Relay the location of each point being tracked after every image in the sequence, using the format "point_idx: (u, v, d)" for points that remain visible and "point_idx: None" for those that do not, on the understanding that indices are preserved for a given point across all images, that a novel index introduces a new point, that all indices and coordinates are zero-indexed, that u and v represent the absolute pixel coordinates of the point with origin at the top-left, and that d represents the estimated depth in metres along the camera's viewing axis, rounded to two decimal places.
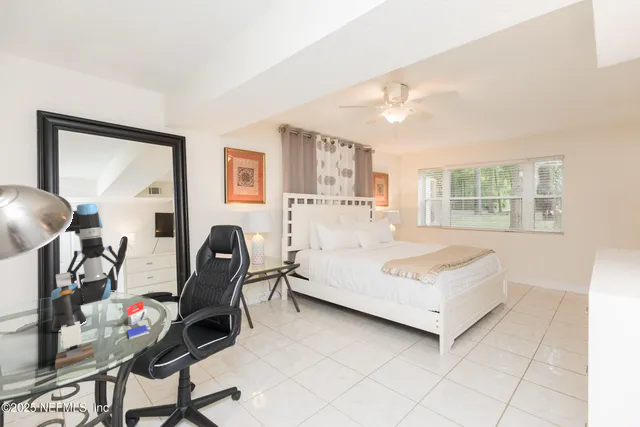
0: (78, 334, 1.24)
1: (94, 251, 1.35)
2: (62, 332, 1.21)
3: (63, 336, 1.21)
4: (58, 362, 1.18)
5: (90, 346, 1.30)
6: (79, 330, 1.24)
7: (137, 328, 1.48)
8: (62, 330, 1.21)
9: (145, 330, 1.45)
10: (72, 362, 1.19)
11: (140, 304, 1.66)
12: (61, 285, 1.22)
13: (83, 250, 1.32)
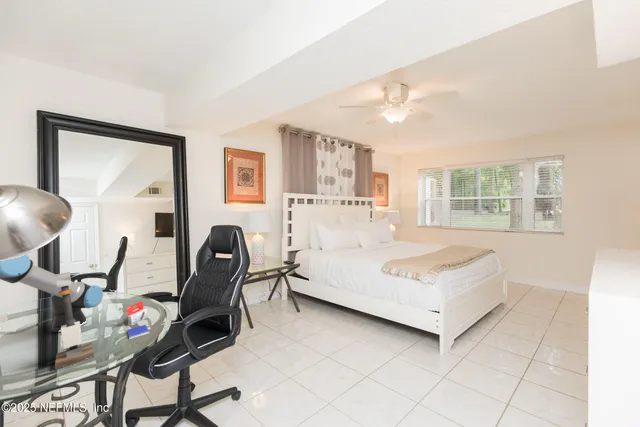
0: (78, 334, 1.24)
1: None
2: (62, 332, 1.21)
3: (63, 336, 1.21)
4: (58, 362, 1.18)
5: (90, 346, 1.30)
6: (79, 330, 1.24)
7: (137, 328, 1.48)
8: (62, 330, 1.21)
9: (145, 330, 1.45)
10: (72, 362, 1.19)
11: (140, 304, 1.66)
12: (61, 285, 1.22)
13: None
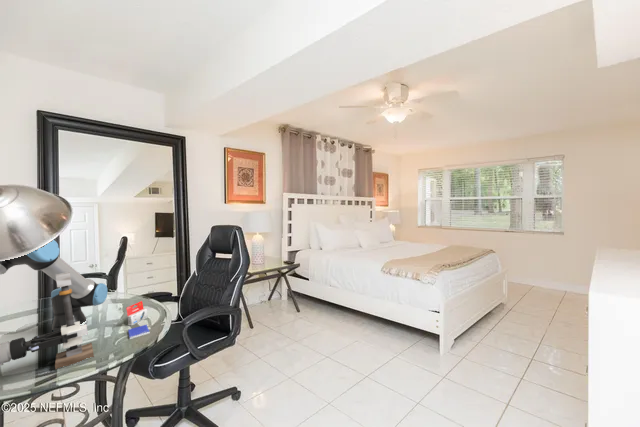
0: None
1: None
2: (62, 332, 1.21)
3: None
4: (58, 362, 1.18)
5: (90, 346, 1.30)
6: None
7: (138, 328, 1.48)
8: (62, 330, 1.21)
9: (146, 330, 1.45)
10: (72, 362, 1.19)
11: (140, 304, 1.66)
12: (61, 285, 1.22)
13: None
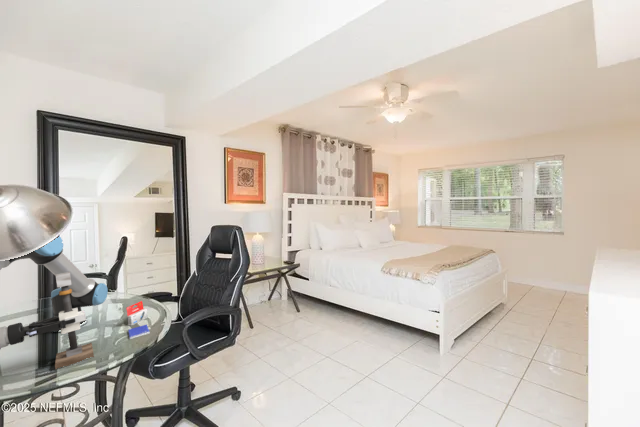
0: None
1: None
2: (60, 318, 1.21)
3: None
4: (58, 362, 1.18)
5: (90, 346, 1.30)
6: None
7: (138, 328, 1.48)
8: (60, 316, 1.21)
9: (146, 330, 1.45)
10: (72, 362, 1.19)
11: (140, 304, 1.66)
12: (61, 285, 1.22)
13: None
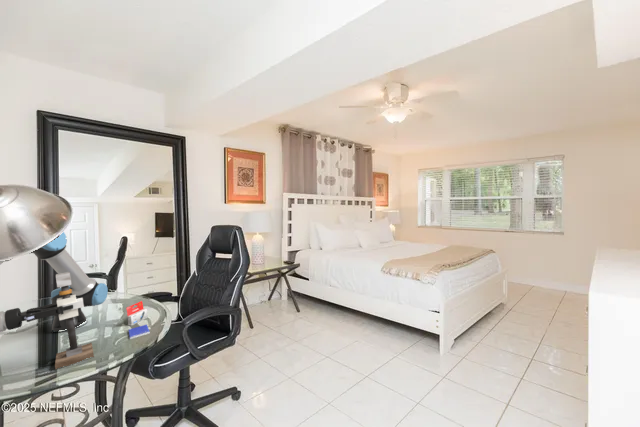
0: None
1: None
2: (58, 304, 1.20)
3: None
4: (58, 362, 1.18)
5: (90, 346, 1.30)
6: None
7: (138, 328, 1.48)
8: (58, 302, 1.20)
9: (146, 330, 1.45)
10: (72, 362, 1.19)
11: (140, 304, 1.66)
12: (61, 285, 1.22)
13: None
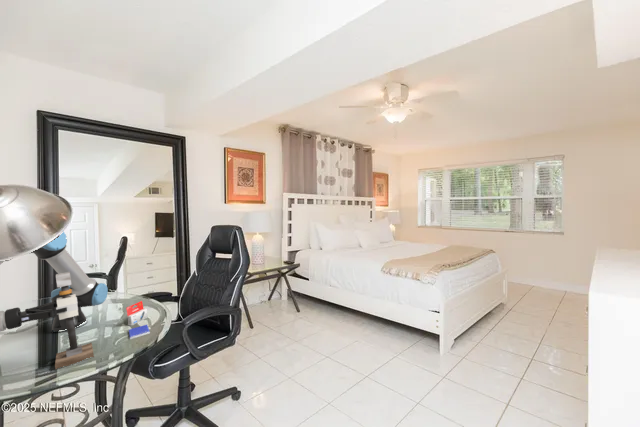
0: None
1: None
2: (58, 303, 1.20)
3: None
4: (58, 362, 1.18)
5: (90, 346, 1.30)
6: (75, 302, 1.24)
7: (138, 328, 1.48)
8: (58, 301, 1.20)
9: (146, 330, 1.44)
10: (72, 362, 1.19)
11: (140, 304, 1.66)
12: (61, 285, 1.22)
13: None
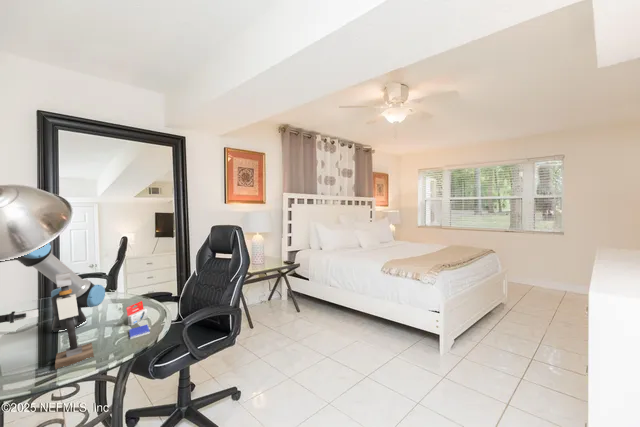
0: (74, 306, 1.24)
1: None
2: (58, 303, 1.20)
3: (59, 307, 1.21)
4: (58, 362, 1.18)
5: (90, 346, 1.30)
6: (75, 302, 1.24)
7: (138, 328, 1.48)
8: (58, 301, 1.20)
9: (146, 330, 1.44)
10: (72, 362, 1.19)
11: (140, 304, 1.66)
12: (61, 285, 1.22)
13: None
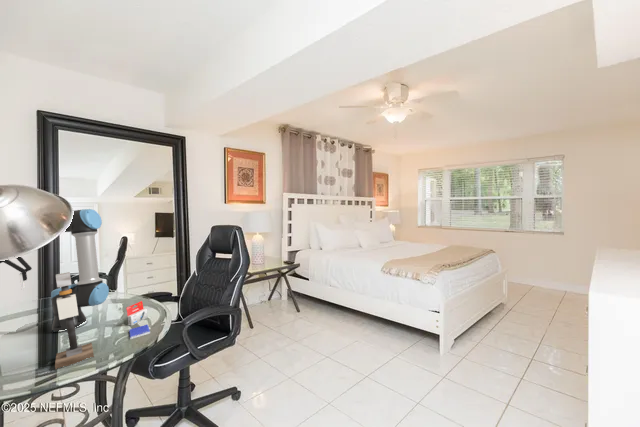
0: (74, 306, 1.24)
1: None
2: (58, 303, 1.20)
3: (59, 307, 1.21)
4: (58, 362, 1.18)
5: (90, 346, 1.30)
6: (75, 302, 1.24)
7: (139, 328, 1.48)
8: (58, 301, 1.20)
9: (146, 330, 1.44)
10: (72, 362, 1.19)
11: (140, 304, 1.66)
12: (61, 285, 1.22)
13: None
